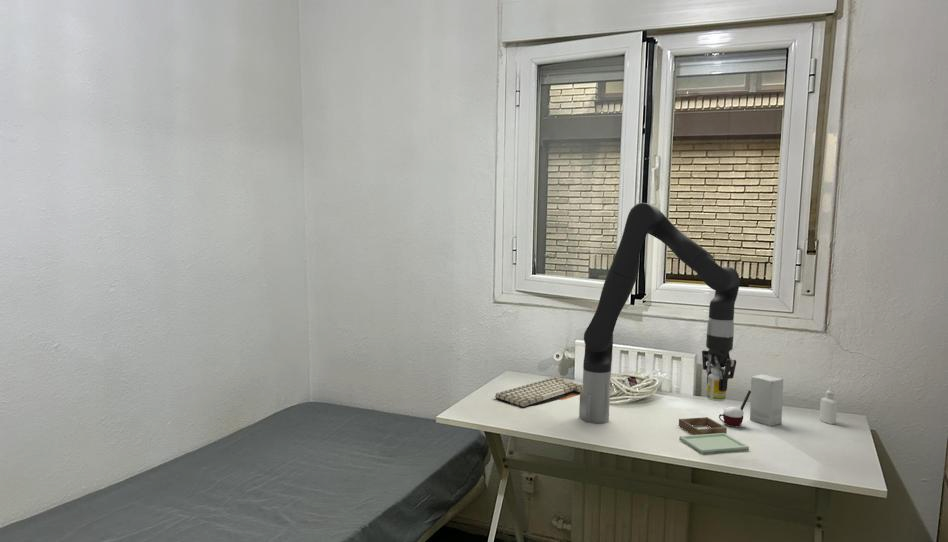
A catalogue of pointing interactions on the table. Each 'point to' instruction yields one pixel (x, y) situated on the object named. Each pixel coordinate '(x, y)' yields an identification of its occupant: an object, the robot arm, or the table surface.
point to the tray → (713, 443)
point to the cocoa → (734, 414)
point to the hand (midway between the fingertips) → (716, 387)
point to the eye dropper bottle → (828, 408)
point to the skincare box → (766, 399)
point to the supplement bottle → (715, 386)
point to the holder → (693, 430)
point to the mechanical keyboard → (540, 392)
